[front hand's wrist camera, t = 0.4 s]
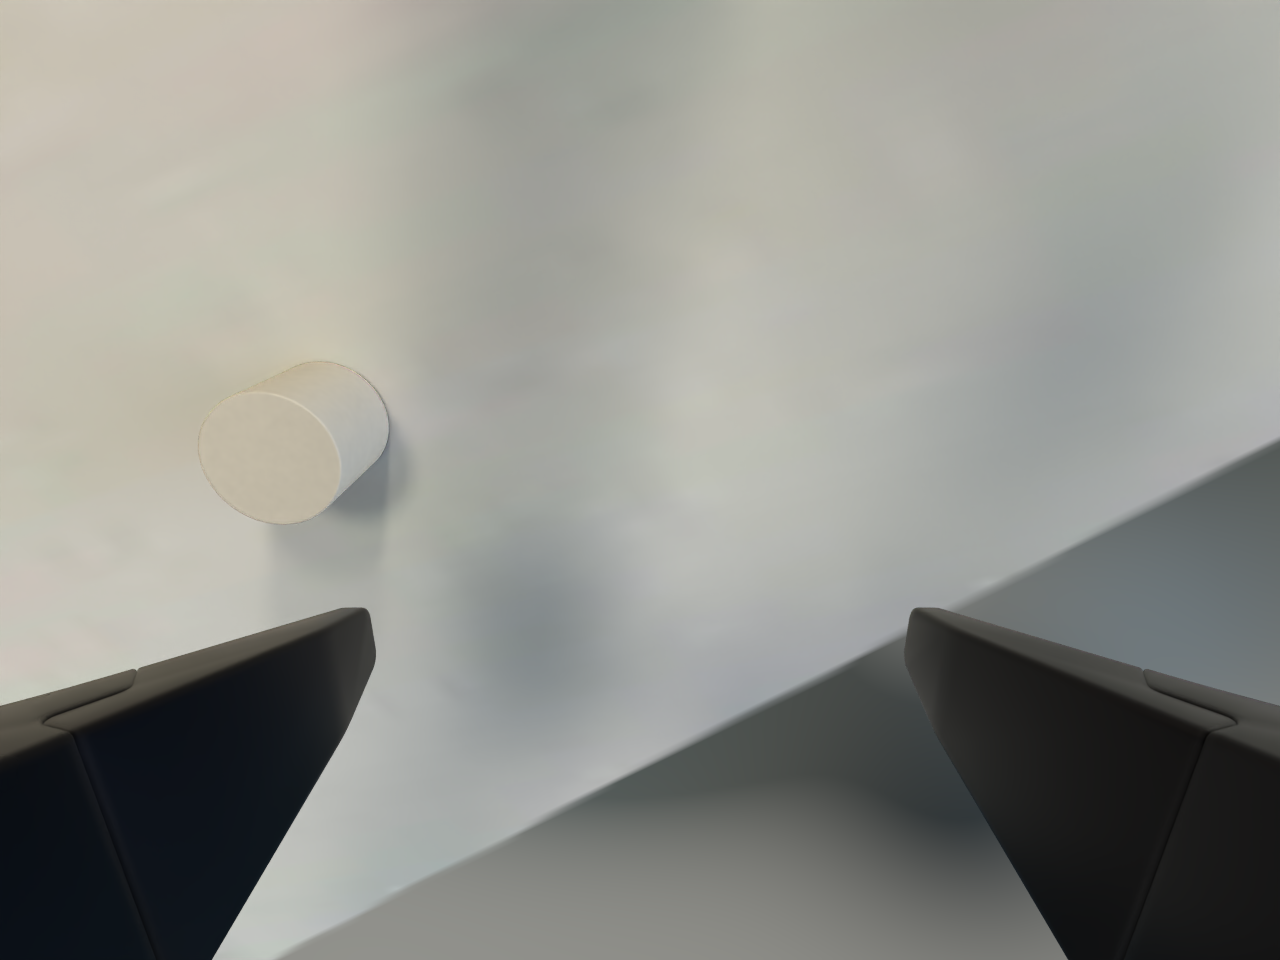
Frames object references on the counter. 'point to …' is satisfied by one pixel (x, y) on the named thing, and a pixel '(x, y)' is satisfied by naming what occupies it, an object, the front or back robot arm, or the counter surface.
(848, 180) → the counter surface
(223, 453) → the can
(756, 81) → the counter surface
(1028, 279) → the counter surface
